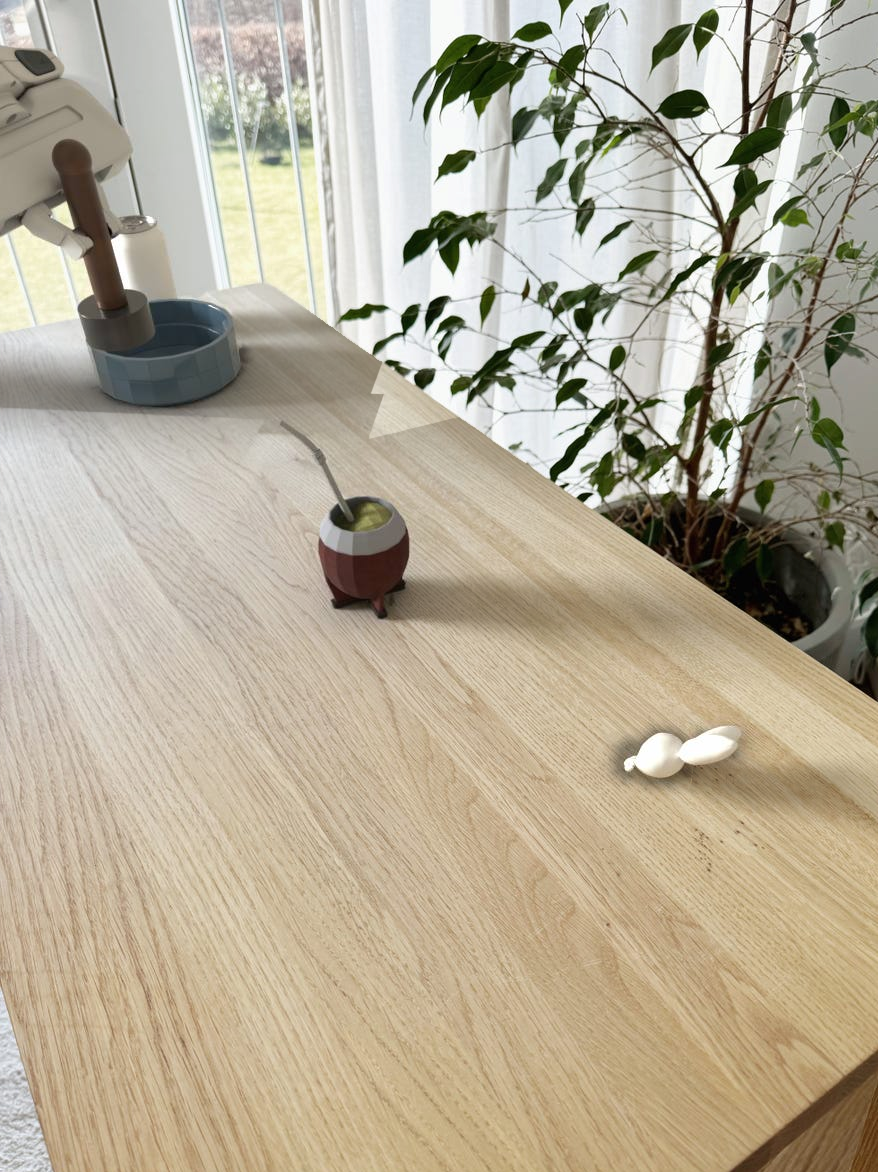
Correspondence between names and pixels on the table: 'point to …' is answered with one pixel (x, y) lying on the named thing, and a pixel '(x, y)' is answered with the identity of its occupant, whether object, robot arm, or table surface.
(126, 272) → the can
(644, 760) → the rabbit figurine
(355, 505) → the mate gourd
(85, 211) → the wooden handled press
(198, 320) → the bowl
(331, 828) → the table surface
